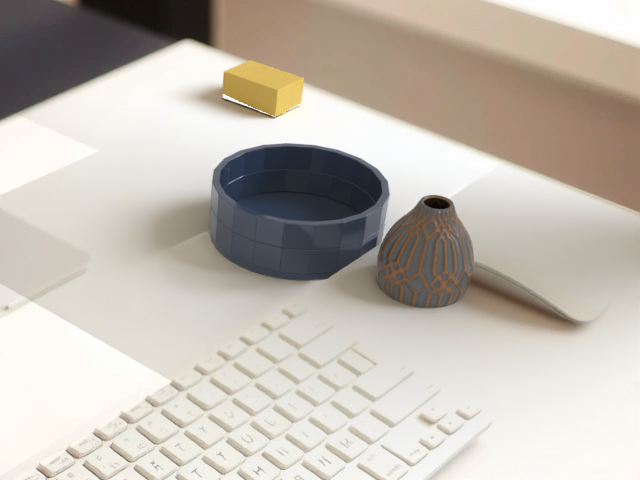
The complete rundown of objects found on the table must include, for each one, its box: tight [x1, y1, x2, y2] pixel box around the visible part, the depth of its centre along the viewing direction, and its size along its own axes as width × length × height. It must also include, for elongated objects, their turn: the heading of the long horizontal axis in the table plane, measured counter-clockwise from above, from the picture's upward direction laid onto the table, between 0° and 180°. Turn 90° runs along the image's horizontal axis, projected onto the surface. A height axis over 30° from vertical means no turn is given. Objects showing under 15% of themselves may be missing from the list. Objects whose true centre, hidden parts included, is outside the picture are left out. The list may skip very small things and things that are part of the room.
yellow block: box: [221, 59, 305, 117], centre depth 112 cm, size 4×7×3 cm, turn 46°
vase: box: [375, 194, 475, 309], centre depth 80 cm, size 7×7×9 cm
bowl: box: [208, 142, 391, 281], centre depth 89 cm, size 14×14×5 cm
